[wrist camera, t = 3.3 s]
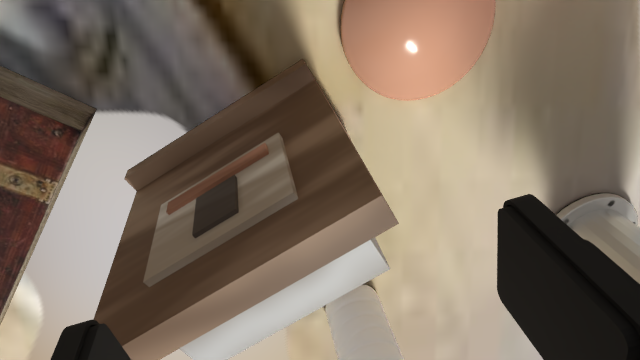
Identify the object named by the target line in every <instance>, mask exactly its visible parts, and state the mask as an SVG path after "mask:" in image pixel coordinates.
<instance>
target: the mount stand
mask: <svg viewBox="0 0 640 360" xmlns="http://www.w3.org/2000/svg"><path fill="white" fill-rule="evenodd" d="M125 180H127V182H128V183H129V184H130V185H131V186H132V187H133V188H134V189H135V190H136V191H137V192H136V195H135V198H134V202H133V204H132V208H131V210H130V213H129V216H128V219H127V222H126V225H125V228H124V231H123V234H122V237H121V240H120V243H119V246H118V249H117V252H116V255H115V258H114V261H113V264H112V267H111V270H110V273H109V275H108V278H107V282H106V284H105V288H104V290H103V293H102V296H101V299H100V302H99V305H98V308H97V311H96V314H95V317H94V320H96V321H97V322H98V323H99V324H103V323H104V324H106V325H107V326H108V327H109V329H110V330H111V332H112V333H113V334H114V336H115V337H116V339H117V340H118V342H119V343H120V344H121V346H122V347H123V349H124V350H125V351H126V353H127V354H128V356H129V357H130V359H131V360H160V359H162V358H163V357H165V356H167V355H169V354H170V353H172V352H174V351H176V350H177V349H180V350H181V351H183V352H184V353H185V354H186V355H188V356H189V357H190V358H192V359H193V360H228V359H230V358H231V357H233V356H235V355H237V354H239V353H240V352H242V351H244V350H246V349H248V348H249V347H251V346H253V345H255V344H257V343H258V342H260V341H262V340H263V339H266V338H267V337H269V336H271V335H273V334H274V333H276V332H278V331H280V330H282V329H283V328H285V327H287V326H289V325H291V324H292V323H294V322H296V321H298V320H300V319H301V318H303V317H305V316H307V315H309V314H310V313H312V312H314V311H316V310H318V309H319V308H321V307H323V306H325V305H327V304H328V303H330V302H332V301H334V300H336V299H337V298H339V297H341V296H343V295H344V294H346V293H348V292H350V291H352V290H353V289H355V288H357V287H359V286H361V285H362V284H364V283H366V282H368V281H370V280H371V279H373V278H375V277H377V276H379V275H380V274H382V273H384V272H386V271H388V270H389V269H390V268H389V266H388V263H387V261H386V259H385V257H384V255H383V253H382V251H381V249H380V247H379V245H378V243H377V240H376V238H375V237H376V236H378V235H379V234H381V233H383V232H385V231H386V230H388V229H390V228H392V227H393V226H395V225H397V224H399V223H398V221H397V219H396V218H395V216H394V214H393V212H392V211H391V209H390V207H389V205H388V204H387V202H386V200H385V199H384V197H383V195H382V193H381V192H380V190H379V188H378V187H377V185H376V183H375V181H374V180H373V178H372V176H371V174H370V173H369V171H368V169H367V168H366V166H365V164H364V162H363V161H362V159H361V157H360V155H359V154H358V152H357V150H356V149H355V147H354V145H353V143H352V142H351V138H350V137H349V135H348V133H347V132H346V130H345V128H344V127H343V125H342V123H341V122H340V120H339V118H338V117H337V115H336V113H335V112H334V110H333V108H332V107H331V105H330V103H329V102H328V100H327V98H326V97H325V95H324V93H323V92H322V90H321V88H320V87H319V85H318V83H317V82H316V80H315V78H314V77H313V75H312V73H311V72H310V70H309V68H308V67H307V65H306V63H305V62H304V60H303V59H302V60H300V61H299V62H297V63H296V64H294V65H293V66H291V67H289V68H288V69H286V70H285V71H283V72H282V73H280V74H278V75H277V76H275V77H274V78H272V79H271V80H269V81H267V82H266V83H264V84H263V85H261V86H260V87H258V88H256V89H255V90H253V91H252V92H250V93H249V94H247V95H245V96H244V97H242V98H241V99H239V100H238V101H236V102H234V103H233V104H231V105H230V106H228V107H227V108H225V109H223V110H222V111H220V112H219V113H217V114H216V115H214V116H212V117H211V118H209V119H208V120H206V121H205V122H203V123H201V124H200V125H198V126H197V127H195V128H194V129H192V130H190V131H189V132H187V133H186V134H184V135H183V136H181V137H179V138H178V139H176V140H175V141H173V142H172V143H170V144H169V145H167V146H165V147H164V148H162V149H161V150H159V151H158V152H156V153H154V154H153V155H151V156H150V157H148V158H146V159H145V160H144V161H142V162H140V163H139V164H137V165H136V166H134V167H132V168H131V169H129V170H128V171H127V174H126V176H125Z"/></svg>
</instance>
